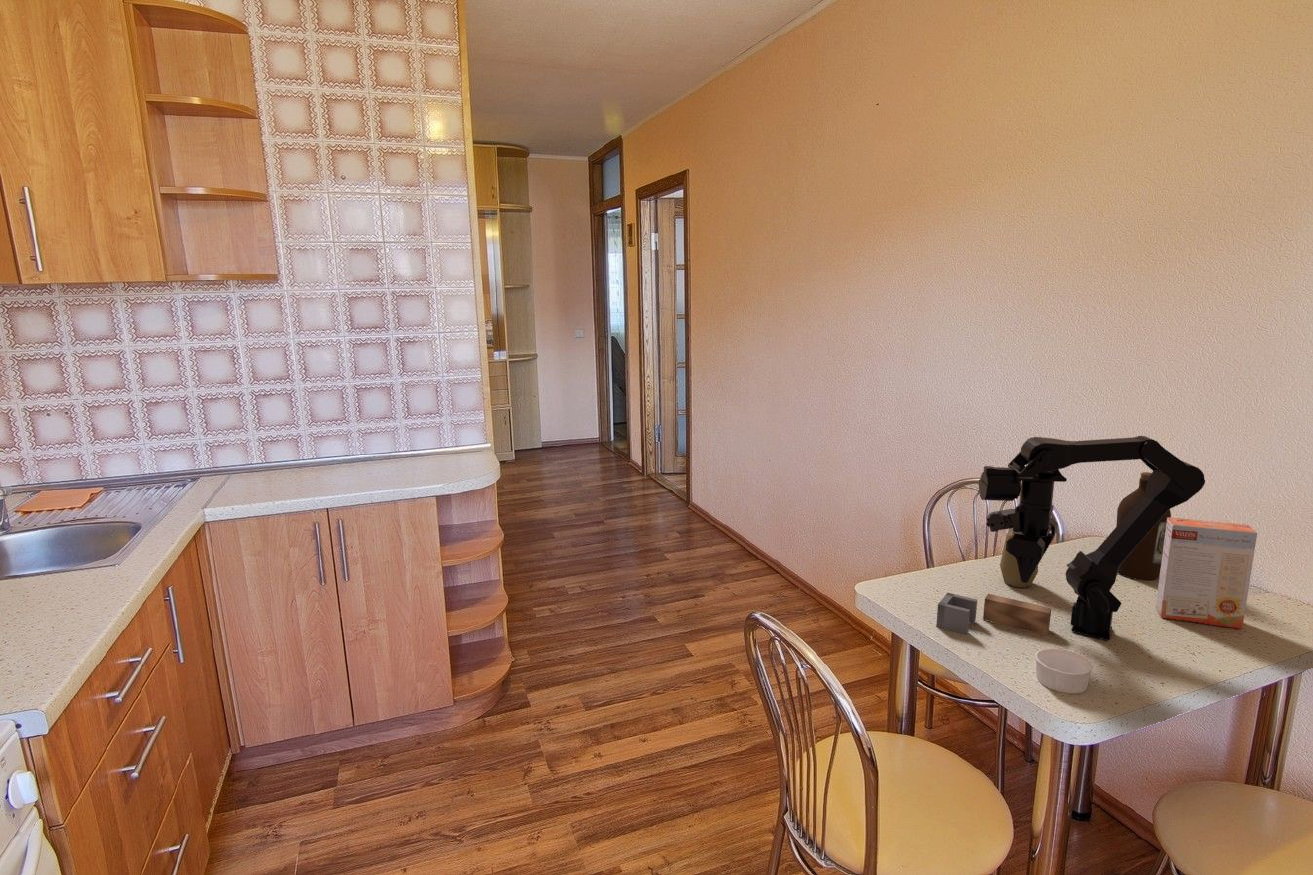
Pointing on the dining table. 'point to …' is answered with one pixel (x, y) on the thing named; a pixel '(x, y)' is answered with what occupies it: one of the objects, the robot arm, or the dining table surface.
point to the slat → (1017, 614)
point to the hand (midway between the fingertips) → (1028, 574)
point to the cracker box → (1206, 571)
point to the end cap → (956, 613)
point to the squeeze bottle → (1013, 567)
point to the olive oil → (1150, 549)
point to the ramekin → (1063, 670)
